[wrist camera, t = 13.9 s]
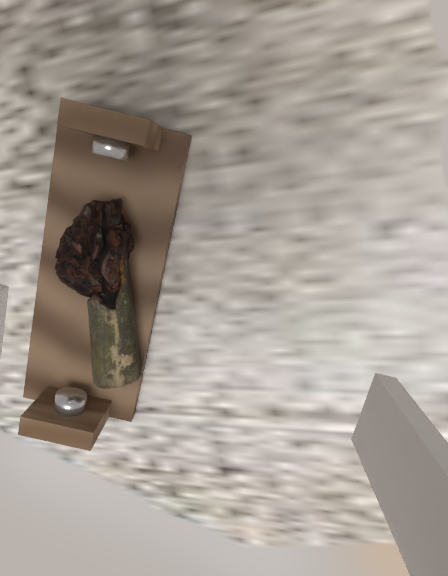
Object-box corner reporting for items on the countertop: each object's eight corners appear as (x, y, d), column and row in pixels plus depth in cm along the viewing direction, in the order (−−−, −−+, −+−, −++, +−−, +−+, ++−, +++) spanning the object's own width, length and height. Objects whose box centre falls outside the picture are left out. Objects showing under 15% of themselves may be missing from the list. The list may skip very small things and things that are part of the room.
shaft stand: (67, 105, 40) (28, 89, 33) (191, 136, 40) (181, 127, 33) (29, 390, 48) (-8, 428, 40) (134, 414, 48) (116, 456, 41)
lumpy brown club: (146, 369, 45) (132, 395, 39) (83, 368, 45) (61, 394, 40) (136, 198, 40) (119, 201, 35) (66, 198, 41) (39, 201, 35)
